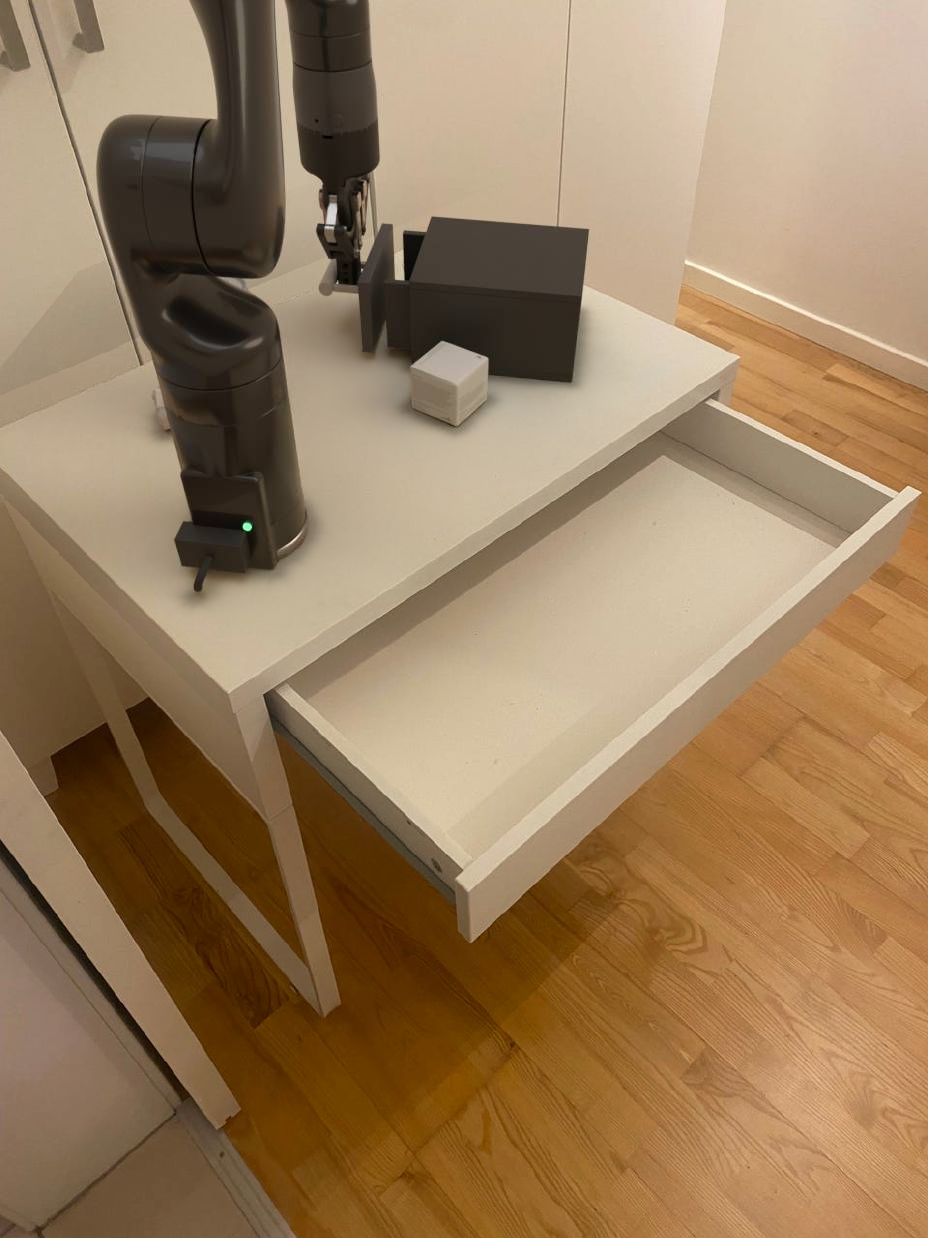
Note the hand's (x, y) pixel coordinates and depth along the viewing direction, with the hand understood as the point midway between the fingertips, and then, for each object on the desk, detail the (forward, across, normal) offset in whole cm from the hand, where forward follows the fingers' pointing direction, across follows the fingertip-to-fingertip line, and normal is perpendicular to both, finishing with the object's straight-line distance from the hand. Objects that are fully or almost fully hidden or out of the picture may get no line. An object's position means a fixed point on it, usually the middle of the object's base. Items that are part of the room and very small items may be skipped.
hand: (350, 286), depth 101 cm
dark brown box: (+5, 0, +16) cm, 17 cm away
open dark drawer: (+4, 0, +8) cm, 9 cm away
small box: (+5, +12, +12) cm, 18 cm away
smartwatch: (+5, +20, -14) cm, 25 cm away
